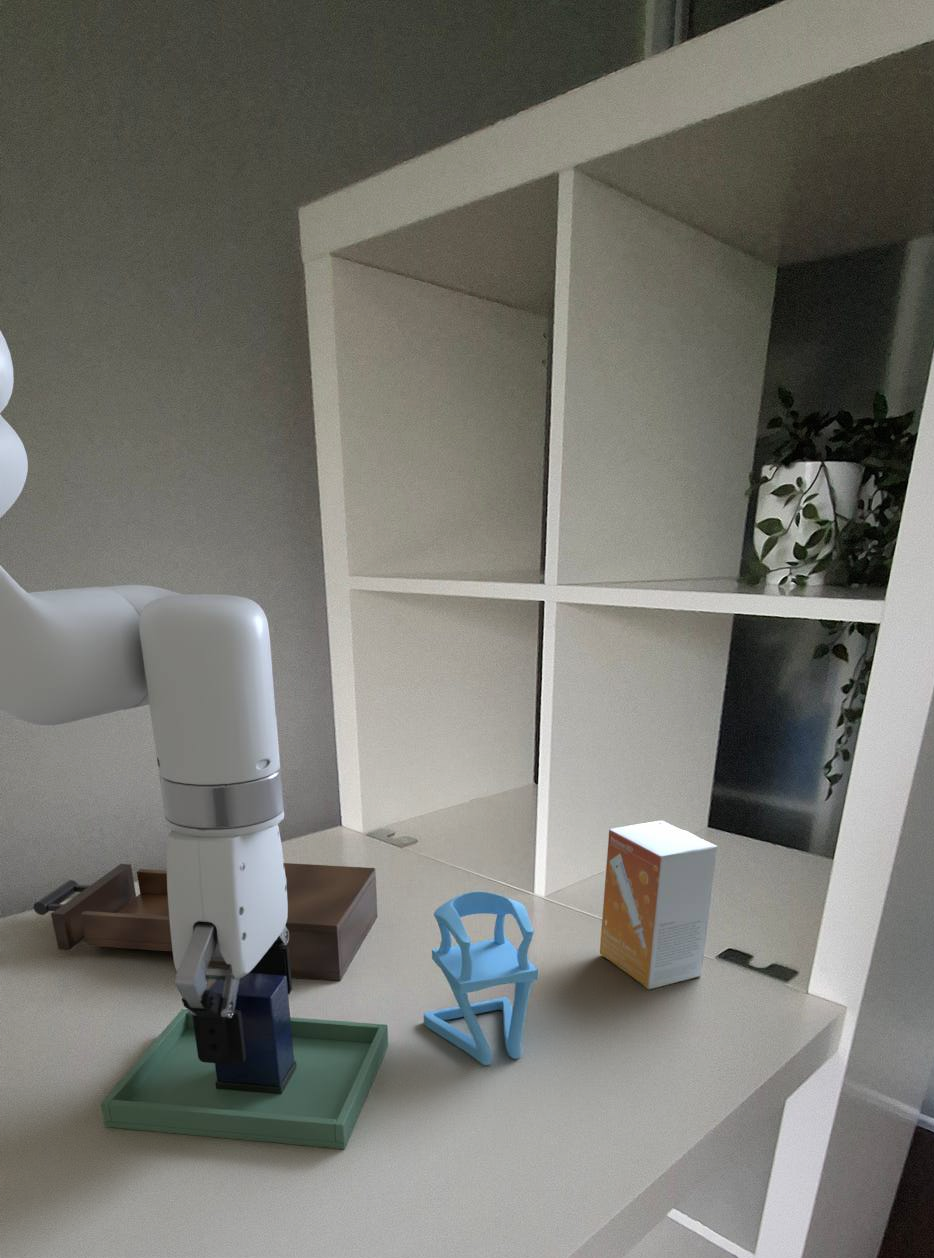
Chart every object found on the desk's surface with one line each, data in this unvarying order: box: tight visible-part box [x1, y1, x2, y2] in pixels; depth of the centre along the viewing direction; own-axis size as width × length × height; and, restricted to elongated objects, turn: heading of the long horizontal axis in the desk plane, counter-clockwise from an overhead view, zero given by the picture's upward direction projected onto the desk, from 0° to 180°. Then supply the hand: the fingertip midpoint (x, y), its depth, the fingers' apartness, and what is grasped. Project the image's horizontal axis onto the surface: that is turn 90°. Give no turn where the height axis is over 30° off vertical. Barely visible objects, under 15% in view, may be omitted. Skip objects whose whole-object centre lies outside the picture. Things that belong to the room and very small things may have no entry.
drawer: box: [32, 863, 173, 952], centre depth 91 cm, size 19×13×4 cm
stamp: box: [207, 973, 297, 1094], centre depth 66 cm, size 5×4×8 cm
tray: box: [100, 1008, 389, 1150], centre depth 68 cm, size 17×13×2 cm
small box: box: [599, 820, 718, 990], centre depth 83 cm, size 8×6×13 cm
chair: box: [423, 890, 539, 1066], centre depth 72 cm, size 8×8×12 cm
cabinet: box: [208, 862, 378, 982], centre depth 89 cm, size 16×15×6 cm
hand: (248, 1024), depth 66 cm, fingers open, 9 cm apart
